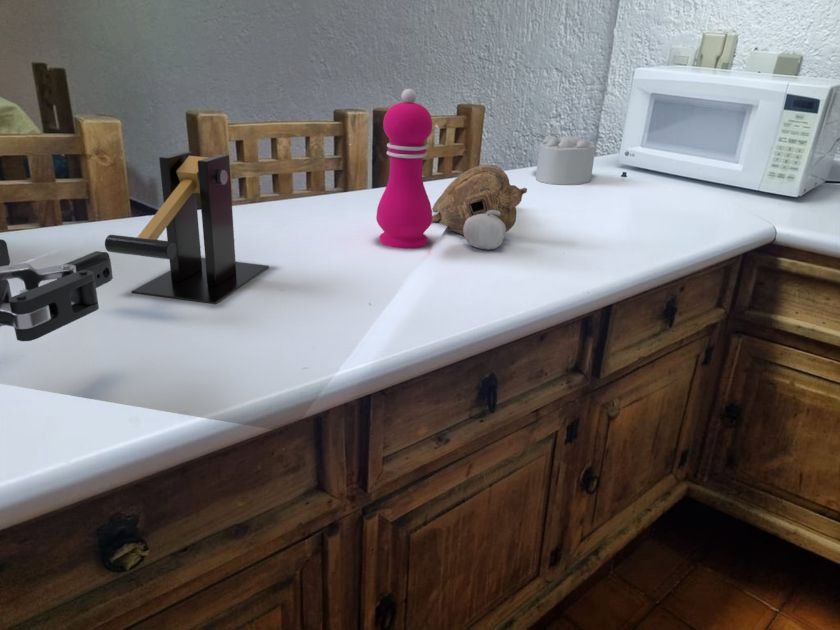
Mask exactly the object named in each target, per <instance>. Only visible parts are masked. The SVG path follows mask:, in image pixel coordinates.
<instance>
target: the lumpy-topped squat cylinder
mask: <svg viewBox="0 0 840 630" xmlns="http://www.w3.org/2000/svg"><path fill="white" fill-rule="evenodd" d="M595 155H596V145H595V144H590V142H589V141H588V140H587V139H585V138H583V137H573V136H568V135H566V136H562V137H561V138H557V137H556V136H554V135H547V136H545V138H544V139H543V141H542V142H540V143H539V147H538V156H537V164H536V172H535V180H536V181H538V182H540V183H543V184H549V185H561V186H571V185H572V186H573V185H574V186H575V185H582V184H587V183H590V182H591V181H592V175H593V169H594V168H593V167H594V162H595Z"/></svg>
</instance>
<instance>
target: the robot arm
mask: <svg viewBox="0 0 840 630" xmlns="http://www.w3.org/2000/svg"><path fill="white" fill-rule="evenodd" d="M10 258H11V257H10V254H9V249H8V243H7V242H6V240H5V239H0V327H4V326H8V327H13V328H14V332H15V338H16V341H20V342H32V341H35V340H38V339H39V338H41V337H44V336H46V335H48V334H49V333H52V332H54V331H57V330H59V329H60V328H62V327H64V326H67V325H69V324H72V323H73V322H75V321H77V320H80V319H81V318H83V317H86V316H89V315H90V314H92V313H94V312H96V311H98V310H99V308H100V306H99V300H98V292H97V288H99V287H101V286H104V285H106V284H108V283H109V282H111V281H112V280H113V279H114V276H113V269H112V268H113V267H112V261H111V257H110V254H109V252H108V251H99V250H96V251H93V252H91V253H88V254H85V255H83V256H81V257H78V258H76V259H73V260H71V261H68V262H66V263H63V264H61V265H54V266H47V267H41V268H35V267H33V266H32V265H31V264H29V263H26V262H21V263H13V264H11V259H10ZM11 279H19V280H20V284H21V289H20V291H18V293H19V294H16V295H14V296H12V290H11V286H10V282H9V281H8V280H11ZM44 281H50V282H46V283H44V284H42V285H40V283H42V282H44Z"/></svg>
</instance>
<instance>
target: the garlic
mask: <svg viewBox="0 0 840 630" xmlns="http://www.w3.org/2000/svg"><path fill="white" fill-rule="evenodd" d="M491 214H495V215H500V212H499V211H496V210H489V211H487V212H486V214H477V215H474V216H472V217H470V218H468V219H467V220H466V222H465V224H464V228H463V232H464V235H463V236H464V239H465V240H466V242H467V244H469V246H471V247H474V248H476V249H480V250H487V251H488V250H489V251H491V250H494V249H497V248H498V247H500V246H501V245H502V243H503V241H504V239H505V237H506V233H507V232H506V228H505V224H504V223H503V222H502V221H501V220H500V219H499V218H498V217H496V216H494V215H491Z"/></svg>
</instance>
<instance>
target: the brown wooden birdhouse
mask: <svg viewBox="0 0 840 630" xmlns="http://www.w3.org/2000/svg"><path fill="white" fill-rule="evenodd" d="M527 192H528V187H527V188H526V187H523V188H519V187H518V186H517V185H513V184H511V183H510V179H509V177H508V175H507V173H506V172H505V170H503V169H502V168H501V167H499V166H497V165H494V164H480V165H476V166H474V167H472V168H469V169H468V170H465V171H463V172H462V173H461V174H460V175H458V176H456V178H454V179H453V180H452V181H451V182H450V183H449V184H448V185H447V187H446V188H445V189H444V190H443V192H442V194H441V195H440V196H439V197H438V198H437V199H436V201H435V202H434V204H433V206H432V207H431V209H432V213H437V214H434V215H432V223H434V222H438V223H439V224H441V225H444V226H446V228H445V229H446V230H448V231H451V232H453V233H456V234H459V235H463V236H464V232H463V228H464V224H465V222H466V220H467V219H468V218H470V217H472V216H474V215H477V214H486V212H487V211H489V210H496V211H499V212H500V215H495V214H491V215H494V216H496V217H498V218H499V219H500V220H501V221H502V222H503V223H504V224H505V228H506V233H508V232H509V231H511V229H512V228H513V227H514V226H515V224H516V222H517V208H516V207H517V206H518V205H520V204H521V202H522V198H523V196H524V194H526V193H527Z"/></svg>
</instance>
